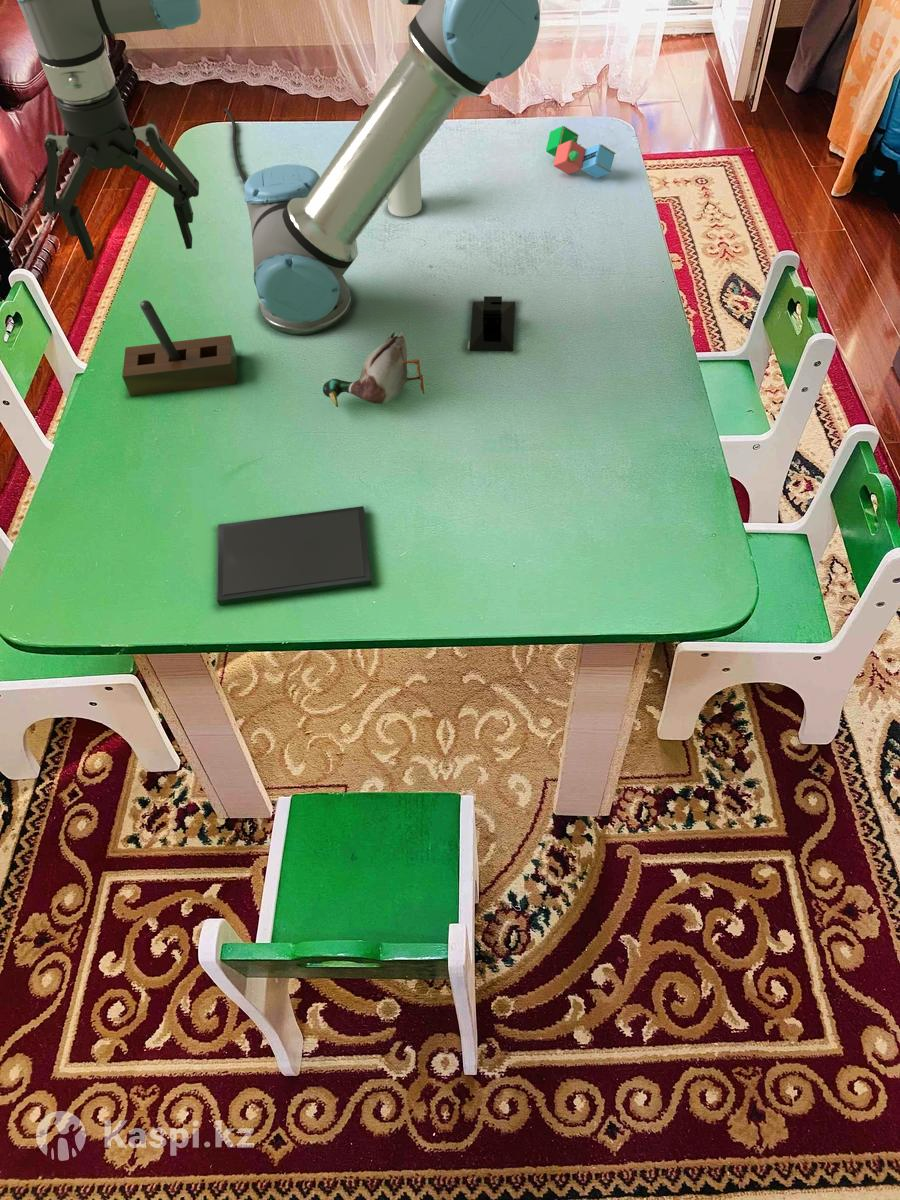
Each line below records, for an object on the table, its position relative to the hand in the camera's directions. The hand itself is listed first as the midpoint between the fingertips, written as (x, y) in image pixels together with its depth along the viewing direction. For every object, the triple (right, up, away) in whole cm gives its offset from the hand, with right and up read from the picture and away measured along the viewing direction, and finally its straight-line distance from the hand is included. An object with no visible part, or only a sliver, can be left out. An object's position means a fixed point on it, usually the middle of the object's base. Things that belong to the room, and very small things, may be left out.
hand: (140, 249), depth 128 cm
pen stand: (+1, -13, +18) cm, 22 cm away
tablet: (+22, -43, -4) cm, 49 cm away
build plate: (+50, -4, +23) cm, 55 cm away
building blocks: (+68, +34, +49) cm, 91 cm away
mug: (+33, +24, +44) cm, 60 cm away
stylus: (+1, -13, +18) cm, 22 cm away
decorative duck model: (+32, -16, +15) cm, 38 cm away
